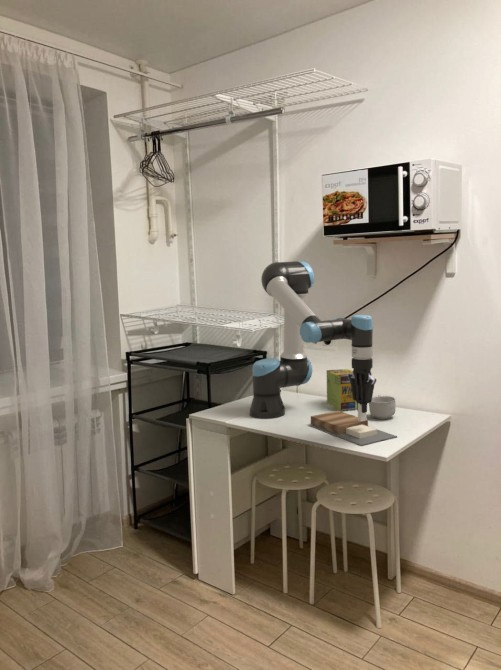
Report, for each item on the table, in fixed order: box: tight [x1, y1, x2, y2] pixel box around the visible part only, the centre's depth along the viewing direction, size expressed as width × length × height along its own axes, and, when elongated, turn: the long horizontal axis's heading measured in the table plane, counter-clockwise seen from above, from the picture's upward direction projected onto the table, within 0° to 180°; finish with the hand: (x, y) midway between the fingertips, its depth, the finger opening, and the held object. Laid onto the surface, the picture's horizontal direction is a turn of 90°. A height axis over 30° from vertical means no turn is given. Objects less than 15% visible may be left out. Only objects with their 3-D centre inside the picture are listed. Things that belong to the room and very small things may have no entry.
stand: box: [310, 410, 369, 434], centre depth 226 cm, size 18×14×3 cm
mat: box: [310, 424, 398, 447], centre depth 220 cm, size 30×17×1 cm, turn 30°
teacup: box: [368, 394, 396, 420], centre depth 239 cm, size 14×11×8 cm
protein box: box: [326, 368, 358, 412], centre depth 256 cm, size 10×15×16 cm
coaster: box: [346, 425, 378, 439], centre depth 215 cm, size 8×8×2 cm
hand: (362, 420), depth 214 cm, fingers closed
